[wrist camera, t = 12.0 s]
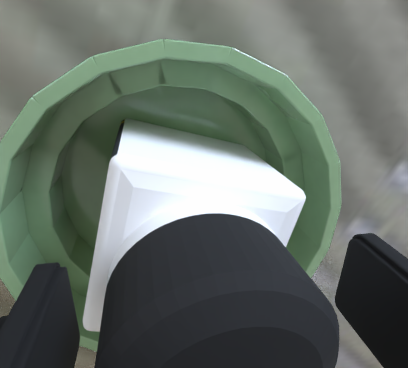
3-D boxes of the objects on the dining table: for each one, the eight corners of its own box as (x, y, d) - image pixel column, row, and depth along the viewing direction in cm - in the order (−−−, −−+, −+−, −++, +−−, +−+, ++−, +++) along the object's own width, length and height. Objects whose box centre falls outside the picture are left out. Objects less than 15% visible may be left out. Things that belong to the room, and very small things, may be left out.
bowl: (330, 163, 19) (396, 197, 14) (187, 316, 22) (201, 390, 17) (145, -26, 13) (150, -78, 8) (-24, 214, 16) (-97, 282, 11)
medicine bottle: (121, 115, 15) (80, 251, 4) (246, 144, 17) (437, 286, 6) (101, 234, 17) (39, 522, 6) (213, 247, 19) (310, 482, 8)
